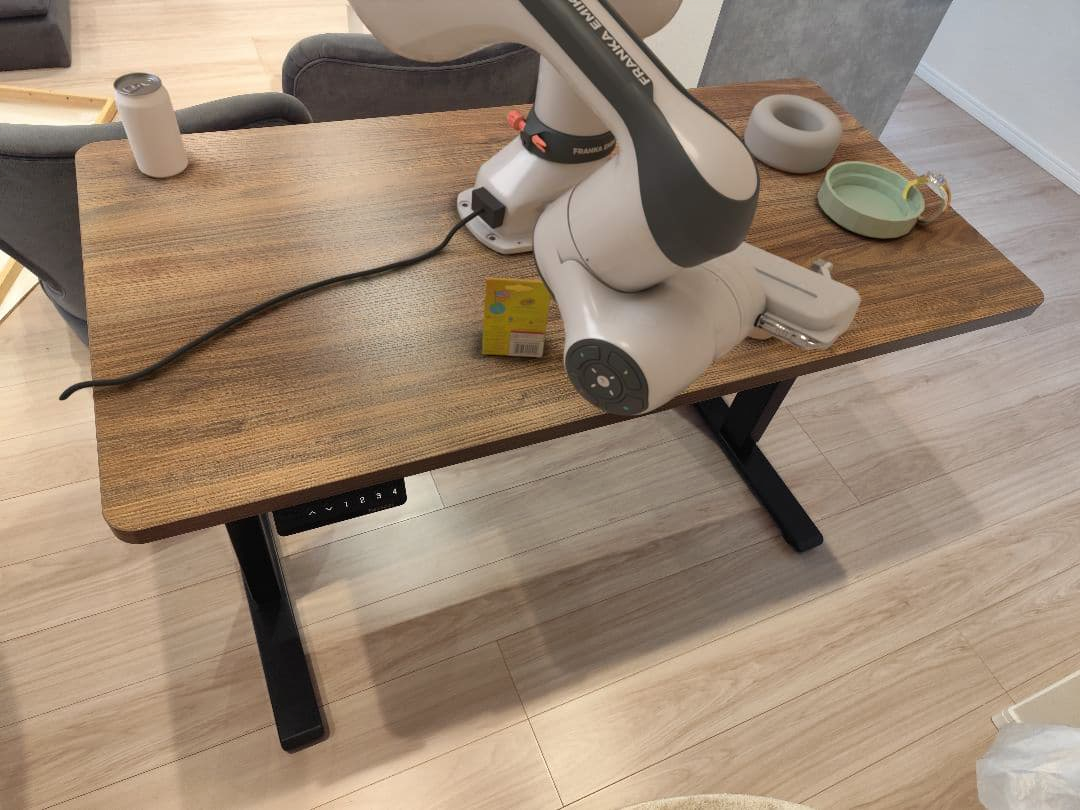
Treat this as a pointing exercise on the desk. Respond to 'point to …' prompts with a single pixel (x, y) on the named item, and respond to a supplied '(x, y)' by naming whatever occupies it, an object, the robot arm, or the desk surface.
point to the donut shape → (793, 133)
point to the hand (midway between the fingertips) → (779, 248)
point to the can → (150, 124)
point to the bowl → (869, 200)
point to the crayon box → (515, 317)
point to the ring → (939, 183)
